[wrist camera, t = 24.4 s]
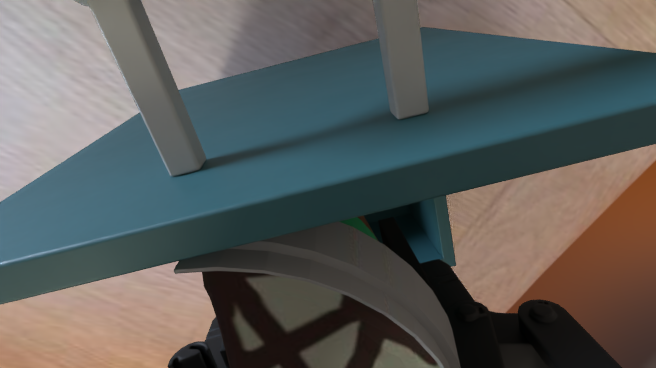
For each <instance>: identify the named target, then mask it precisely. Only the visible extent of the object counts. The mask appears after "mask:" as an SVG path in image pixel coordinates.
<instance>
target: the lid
mask: <svg viewBox="0 0 656 368" xmlns="http://www.w3.org/2000/svg"><path fill="white" fill-rule="evenodd" d="M74 1H76V2H78V3H79V4H82V5H84V6H89V7H90V9H91V11H92V13H93V15H94V18H95V20H96V22H97V24H98V26H99V28H100V30H101V32H102V34H103V36H104V38H105V41H106V43H107V45H108V47H109V49H110V51H111V53H112V55H113V57H114V59H115V61H116V64H117V66H118V68H119V70H120V72H121V74H122V76H123V78H124V80H125V82H126V84H127V87H128V89H129V91H130V93H131V95H132V97H133V99H134V101H135V103H136V105H137V107H138V110H139V112H140V113H138V114H137V115H135V116H134V117H132V118H131V119H129V120H127V121H126V122H124V123H123V124H121V125H120V126H118V127H117V128H115V129H113V130H112V131H110V132H109V133H107V134H106V135H104V136H103V137H101V138H99V139H98V140H96V141H95V142H93V143H92V144H90V145H89V146H87V147H85V148H84V149H82V150H81V151H79V152H78V153H76V154H75V155H73V156H71V157H70V158H68V159H67V160H65V161H64V162H62V163H61V164H59V165H57V166H56V167H54V168H53V169H51V170H50V171H48V172H47V173H45V174H43V175H42V176H40V177H39V178H37V179H36V180H34V181H33V182H31V183H29V184H28V185H26V186H25V187H23V188H22V189H20V190H19V191H17V192H15V193H14V194H12V195H11V196H9V197H8V198H6V199H5V200H3V201H1V202H0V304H4V303H8V302H12V301H17V300H21V299H25V298H29V297H33V296H37V295H41V294H45V293H49V292H53V291H57V290H61V289H66V288H70V287H74V286H78V285H82V284H86V283H90V282H94V281H98V280H102V279H106V278H110V277H115V276H119V275H123V274H127V273H131V272H135V271H139V270H143V269H147V268H151V267H155V266H159V265H163V264H168V263H172V262H176V261H180V260H184V259H188V258H192V257H196V256H200V255H204V254H208V253H212V252H217V251H221V250H225V249H229V248H233V247H237V246H241V245H245V244H249V243H253V242H257V241H261V240H265V239H270V238H274V237H278V236H282V235H286V234H290V233H294V232H298V231H302V230H306V229H310V228H314V227H319V226H323V225H327V224H331V223H335V222H339V221H343V220H347V219H351V218H355V217H359V216H363V215H368V214H372V213H376V212H380V211H384V210H388V209H392V208H396V207H400V206H404V205H408V204H412V203H416V202H421V201H425V200H429V199H433V198H437V197H441V196H445V195H449V194H453V193H457V192H461V191H465V190H470V189H474V188H478V187H482V186H486V185H490V184H494V183H498V182H502V181H506V180H510V179H514V178H519V177H523V176H527V175H531V174H535V173H539V172H543V171H547V170H551V169H555V168H559V167H563V166H567V165H572V164H576V163H580V162H584V161H588V160H592V159H596V158H600V157H604V156H608V155H612V154H616V153H621V152H625V151H629V150H633V149H637V148H641V147H645V146H649V145H653V144H656V53H651V52H642V51H633V50H624V49H615V48H606V47H597V46H588V45H579V44H570V43H561V42H552V41H543V40H535V39H526V38H517V37H508V36H499V35H490V34H481V33H472V32H463V31H454V30H445V29H436V28H427V27H421V28H420V23H419V14H418V5H417V0H373V5H374V11H375V17H376V24H377V30H378V36H379V38H378V39H375V40H371V41H367V42H363V43H359V44H355V45H351V46H347V47H344V48H340V49H336V50H332V51H328V52H324V53H320V54H316V55H313V56H309V57H305V58H301V59H297V60H293V61H289V62H285V63H282V64H278V65H274V66H270V67H266V68H262V69H258V70H254V71H251V72H247V73H243V74H239V75H235V76H231V77H227V78H223V79H220V80H216V81H212V82H208V83H204V84H200V85H196V86H192V87H189V88H185V89H181V90H178V88H177V86H176V83H175V81H174V79H173V76H172V74H171V71H170V69H169V67H168V64H167V62H166V59H165V57H164V55H163V52H162V50H161V47H160V45H159V43H158V40H157V38H156V36H155V33H154V31H153V28H152V26H151V24H150V21H149V19H148V16H147V14H146V12H145V9H144V7H143V4H142V2H141V0H74Z"/></svg>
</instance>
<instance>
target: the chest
mask: <svg viewBox="0 0 656 368" xmlns="http://www.w3.org/2000/svg"><path fill="white" fill-rule="evenodd" d="M363 216H364V217H365V219H366V220H367V222H368V224H369V226H370V227H371V229H372V231H373V233H374V235H375V236H376V238H377V240H378V241H379V242H380V243H382V244H383V241H382V236H381V232H380V227H379V222H378V220H382V219H386V218H390V217H394V219H395V221H396V222H397V224H398V226H399V228H400V229H401V231H402V233H403V235H404V236H405V238H406V240H407V242H408V243H409V245H410V247H411V249H412V251H413V252H414V254H415V256H416V258H417V259H418V261H419V263H423V262H427V261H432V260H436V259H440V260H442V261H444V262H445V263H447V264H449V266H450V267H452V266H456V261H455V255H454V248H453V241H452V234H451V227H450V221H449V214H448V207H447V200H446V195H445V196H441V197H437V198H433V199H429V200H425V201H421V202H416V203H412V204H408V205H404V206H400V207H396V208H392V209H388V210H384V211H380V212H376V213H372V214H368V215H363Z"/></svg>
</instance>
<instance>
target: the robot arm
mask: <svg viewBox="0 0 656 368" xmlns="http://www.w3.org/2000/svg"><path fill="white" fill-rule="evenodd" d="M378 222H379V227H380V232H381V236H382V241H383V244H384V245H385V246H387V247H388V248H389V249H390V250H392V251H393V252H394V253H395V254H397V255H398V256H399V257H400V258H402V259H403V260H404V261H405V262H407V263H408V264H409V265H410V266H412V268H413V269H414V270H415V271H416V272H417V273H418V275H419V276H420V277H421V278H422V279H423V280H424V281H425V283H426V284H427V285H428V286H429V287H430V288H431V289H432V291H433V292H434V294H435V296H436V297H437V299H438V301H439V302H440V304H441V306H442V308H443V309H444V311H445V313H446V314H447V316H448V319H449V322H450V325H451V328H452V331H453V336H454V340H455V345H456V349H457V354H458V358H459V363H460V367H461V368H622V367H621V366H620V365H619V364H618V363H617V362H616V361H615V360H614V359H613V358H612V357H611V356H610V355H609V354H608V353H607V352H606V351H605V350H604V349H603V348H602V347H601V346H600V345H599V344H598V343H597V342H596V341H595V340H594V339H593V337H591V335H590V334H589V333H588V332H587V331H586V330H585V329H583V327H582V326H581V325H580V324H579V323H578V322H577V321H576V320H575V319H574V318H573V317H572V316H571V315H570V314H569V313H568V312H567V311H566V310H565V309H564V308H562V307H561V306H560V305H558V304H555V303H553V302H550V301H546V300H530V301H527V302H524V303H523V304H522V305H521V306H519V309H518V313H495V312H491V311H489V310H488V309H487V307H485V306H484V305H483V304H481V303H478V302H475V301H474V300H473V298H472V297H471V295H470V294H469V292H468V291H467V290H466V288H465V287H464V285H463V284H462V283H461V281H460V280H459V279H458V277H457V276H456V274H455V273H454V271H453V270H452V269H451V267H450V266H449V264H447V263H445V262H444V261H442V260H440V259H436V260H432V261H427V262H423V263H419V261H418V259H417V258H416V256H415V254H414V252H413V251H412V249H411V247H410V245H409V243H408V242H407V240H406V238H405V236H404V235H403V233H402V231H401V229H400V228H399V226H398V224H397V222H396V221H395V219H394V217H390V218H386V219H382V220H378ZM168 368H230V367H229V363H228V359H227V354H226V351H225V347H224V343H223V339H222V336H221V332H220V328H219V325H218V321H217V317H215V319H214V320H213V321H212V324H211V327H210V329H209V332H208V334H207V337H206V340H205V342H194V343H191V344H188V345H187V346H185V347H183V348H181V349H180V350H179V351H178V352H176V353H175V354H174V356H173V357H172V358H171V359H170V361H169V364H168Z"/></svg>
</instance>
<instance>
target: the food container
mask: <svg viewBox="0 0 656 368" xmlns="http://www.w3.org/2000/svg"><path fill="white" fill-rule="evenodd" d="M174 272H175V274H177V273H191V272H202V274H203V282H204V287H205V289H206V291H207V293H208V295H209V297H210V299H211V302H212V305H213V308H214V311H215V314H216V317H217V321H218V325H219V328H220V332H221V336H222V339H223V343H224V347H225V351H226V354H227V359H228V363H229V367H230V368H461V367H460V363H459V358H458V354H457V349H456V345H455V340H454V336H453V331H452V328H451V325H450V322H449V319H448V316H447V314H446V313H445V311H444V309H443V308H442V306H441V304H440V302H439V301H438V299H437V297H436V296H435V294H434V292H433V291H432V289H431V288H430V287H429V286H428V285H427V284H426V283H425V281H424V280H423V279H422V278H421V277H420V276H419V275H418V273H417V272H416V271H415V270H414V269H413V268H412V266H410V265H409V264H408V263H407V262H405V261H404V260H403V259H402V258H400V257H399V256H398V255H397V254H395V253H394V252H393V251H392V250H390V249H389V248H388V247H387V246H385V245H384V244H382V243H380V242H379V241H378V240H377V238H376V236H375V235H374V233H373V231H372V229H371V227H370V226H369V224H368V222H367V220H366V219H365V217H364V216H359V217H355V218H351V219H347V220H343V221H339V222H335V223H331V224H327V225H323V226H319V227H314V228H310V229H306V230H302V231H298V232H294V233H290V234H286V235H282V236H278V237H274V238H270V239H265V240H261V241H257V242H253V243H249V244H245V245H241V246H237V247H233V248H229V249H225V250H221V251H217V252H212V253H208V254H204V255H200V256H196V257H192V258H188V259H184V260H180V261H179V262H178V264H177V265H176V267H175V269H174Z"/></svg>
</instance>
